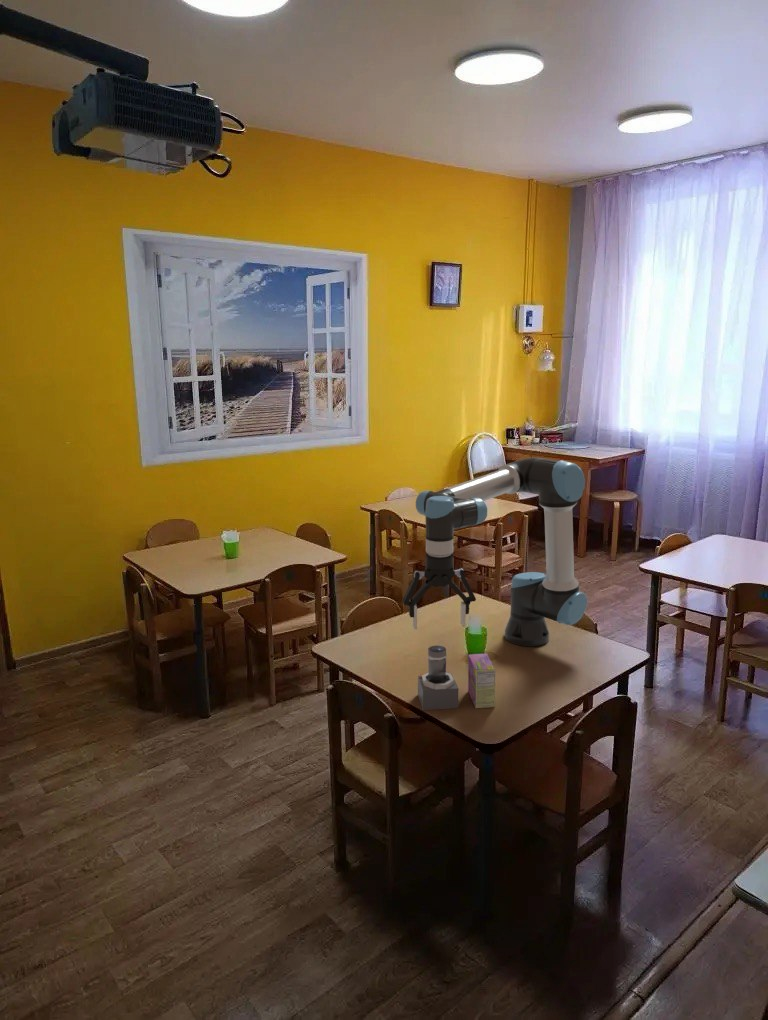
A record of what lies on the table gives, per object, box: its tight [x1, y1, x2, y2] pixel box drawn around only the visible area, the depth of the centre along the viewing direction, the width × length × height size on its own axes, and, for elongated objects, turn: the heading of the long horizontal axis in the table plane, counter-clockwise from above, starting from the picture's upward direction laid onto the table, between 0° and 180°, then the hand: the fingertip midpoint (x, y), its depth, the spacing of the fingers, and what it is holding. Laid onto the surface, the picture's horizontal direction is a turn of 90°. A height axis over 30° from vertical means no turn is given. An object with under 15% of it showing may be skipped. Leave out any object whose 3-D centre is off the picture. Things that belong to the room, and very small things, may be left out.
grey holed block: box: [417, 672, 459, 711], centre depth 196 cm, size 10×9×7 cm
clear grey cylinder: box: [427, 645, 447, 684], centre depth 194 cm, size 5×5×10 cm
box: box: [467, 653, 497, 709], centre depth 196 cm, size 10×6×12 cm, turn 5°
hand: (439, 626), depth 192 cm, fingers open, 13 cm apart
